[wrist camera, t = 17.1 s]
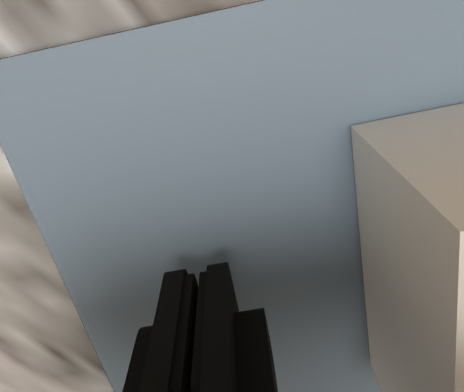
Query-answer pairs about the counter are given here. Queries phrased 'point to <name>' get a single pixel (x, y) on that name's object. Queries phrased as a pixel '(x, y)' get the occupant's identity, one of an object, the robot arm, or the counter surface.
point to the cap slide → (413, 247)
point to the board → (224, 164)
